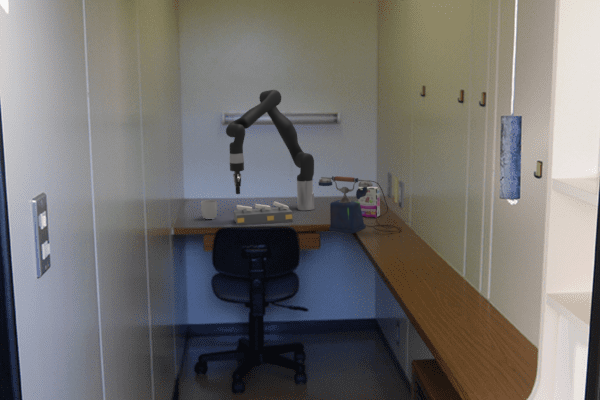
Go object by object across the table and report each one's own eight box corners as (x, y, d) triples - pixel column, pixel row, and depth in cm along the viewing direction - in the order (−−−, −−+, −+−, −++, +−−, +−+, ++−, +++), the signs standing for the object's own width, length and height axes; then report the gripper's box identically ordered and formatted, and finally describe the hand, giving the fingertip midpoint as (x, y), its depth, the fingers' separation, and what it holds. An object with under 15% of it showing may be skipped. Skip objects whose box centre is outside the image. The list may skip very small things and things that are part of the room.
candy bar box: (380, 216, 351) (380, 186, 348) (377, 218, 346) (377, 188, 343) (361, 214, 356) (361, 185, 353) (358, 216, 352) (357, 187, 349)
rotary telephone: (406, 228, 322) (407, 175, 317) (389, 237, 304) (389, 181, 298) (335, 220, 343) (334, 170, 338) (315, 229, 325) (314, 176, 320)
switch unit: (287, 216, 357) (287, 202, 355) (292, 221, 343) (292, 207, 342) (234, 220, 351) (233, 205, 349) (237, 225, 337) (236, 210, 335)
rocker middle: (269, 208, 348) (269, 205, 348) (270, 209, 345) (270, 207, 344) (254, 206, 347) (255, 203, 346) (255, 207, 343) (256, 205, 342)
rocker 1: (250, 209, 346) (251, 206, 346) (251, 211, 343) (252, 208, 342) (236, 207, 344) (236, 204, 344) (237, 209, 341) (237, 206, 340)
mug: (219, 219, 353) (218, 201, 351) (203, 221, 350) (202, 203, 348) (214, 215, 365) (213, 198, 363) (199, 216, 362) (198, 199, 360)
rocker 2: (286, 208, 351) (287, 205, 350) (287, 209, 347) (288, 207, 347) (273, 204, 349) (274, 201, 348) (274, 205, 345) (275, 202, 345)
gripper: (245, 163, 333) (246, 195, 336) (242, 160, 345) (243, 191, 348) (231, 163, 331) (232, 196, 334) (228, 160, 344) (229, 192, 347)
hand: (237, 193), depth 341 cm, fingers closed
